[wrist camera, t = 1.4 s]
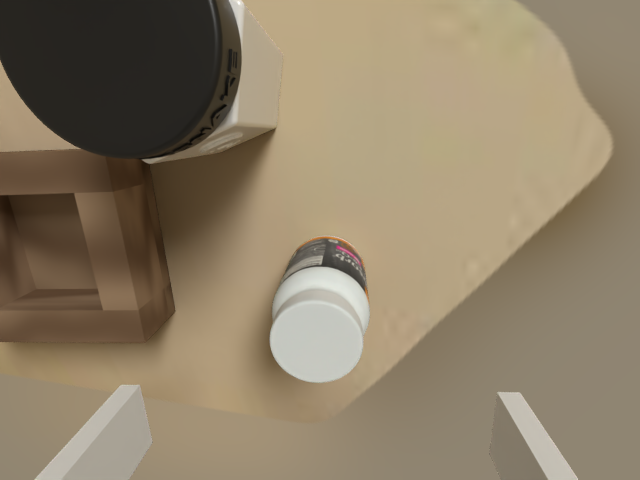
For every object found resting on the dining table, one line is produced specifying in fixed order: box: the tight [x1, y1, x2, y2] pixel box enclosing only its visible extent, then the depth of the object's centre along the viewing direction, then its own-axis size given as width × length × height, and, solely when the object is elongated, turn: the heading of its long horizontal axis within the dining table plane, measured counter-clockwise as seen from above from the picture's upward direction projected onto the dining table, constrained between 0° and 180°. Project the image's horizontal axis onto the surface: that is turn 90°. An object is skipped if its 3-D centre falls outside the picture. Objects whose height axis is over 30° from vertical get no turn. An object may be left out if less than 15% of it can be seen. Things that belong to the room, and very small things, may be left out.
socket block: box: [0, 149, 175, 343], centre depth 25 cm, size 13×13×4 cm
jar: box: [0, 0, 283, 164], centre depth 17 cm, size 9×8×12 cm
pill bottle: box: [270, 235, 370, 383], centre depth 22 cm, size 6×6×10 cm
